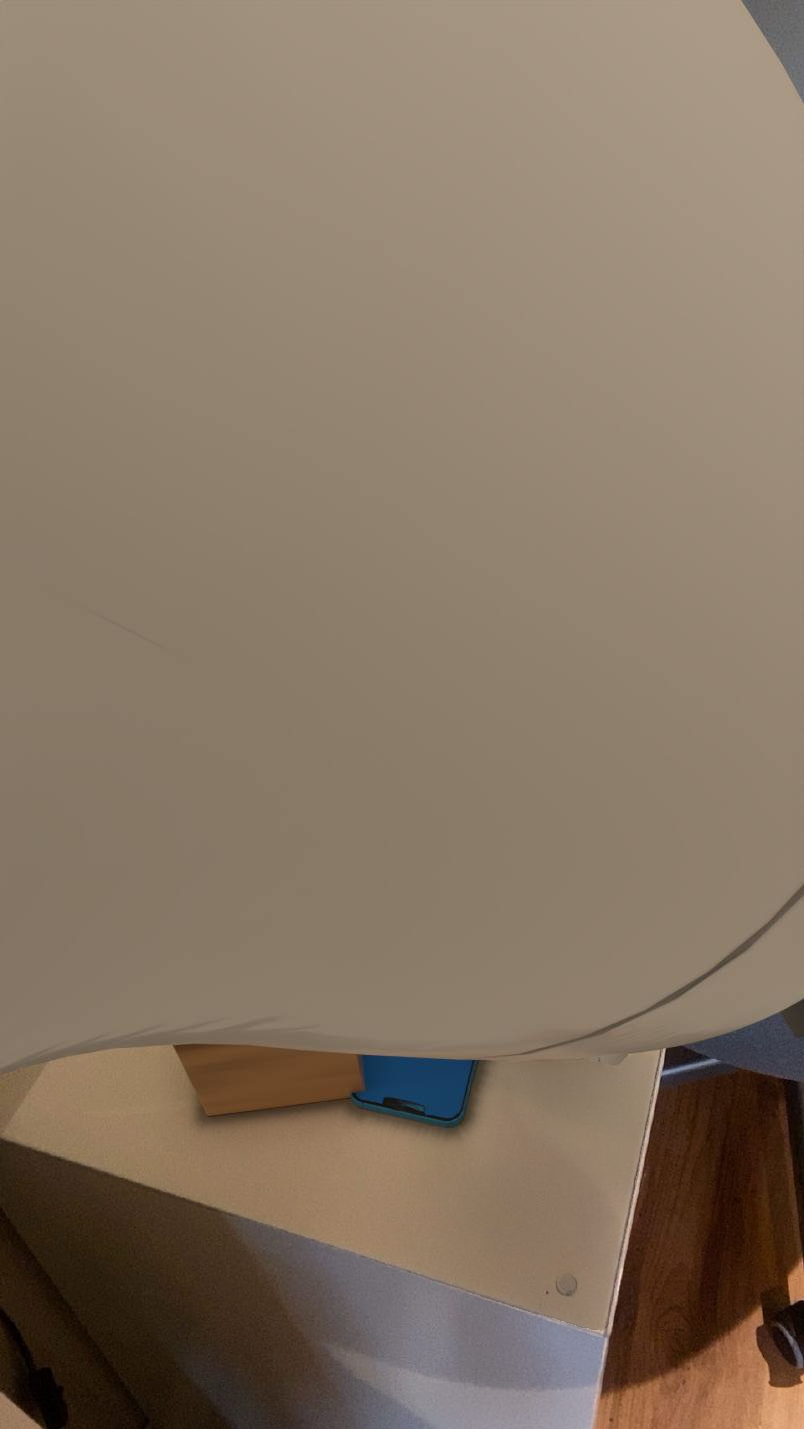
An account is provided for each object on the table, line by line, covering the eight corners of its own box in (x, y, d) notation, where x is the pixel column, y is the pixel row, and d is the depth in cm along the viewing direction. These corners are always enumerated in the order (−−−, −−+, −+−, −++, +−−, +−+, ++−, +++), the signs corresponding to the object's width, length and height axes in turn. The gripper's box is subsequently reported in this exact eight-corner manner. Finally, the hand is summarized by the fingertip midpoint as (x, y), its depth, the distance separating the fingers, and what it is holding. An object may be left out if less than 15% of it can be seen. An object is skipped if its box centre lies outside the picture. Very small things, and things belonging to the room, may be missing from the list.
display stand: (366, 1095, 65) (331, 949, 54) (206, 1116, 65) (137, 974, 54) (356, 957, 72) (323, 802, 61) (212, 976, 72) (152, 824, 61)
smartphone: (509, 922, 73) (461, 1126, 63) (509, 930, 74) (461, 1133, 63) (407, 904, 75) (344, 1099, 64) (408, 912, 75) (345, 1106, 65)
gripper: (705, 629, 48) (419, 587, 52) (614, 1022, 35) (240, 923, 39) (690, 726, 52) (428, 680, 56) (605, 1106, 39) (270, 1010, 43)
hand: (350, 782), depth 47 cm, fingers open, 8 cm apart
